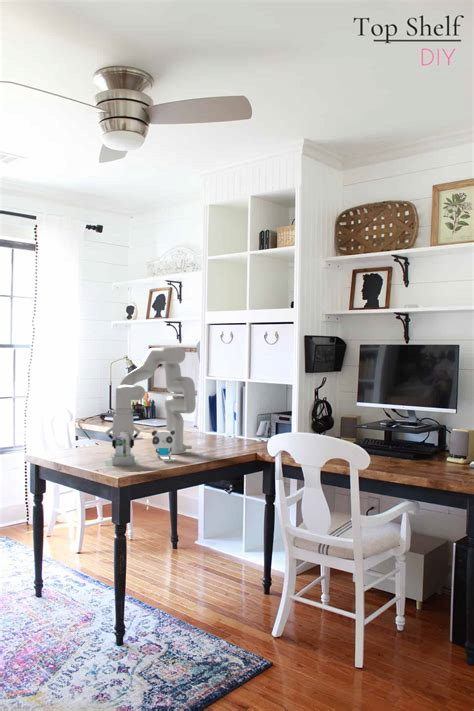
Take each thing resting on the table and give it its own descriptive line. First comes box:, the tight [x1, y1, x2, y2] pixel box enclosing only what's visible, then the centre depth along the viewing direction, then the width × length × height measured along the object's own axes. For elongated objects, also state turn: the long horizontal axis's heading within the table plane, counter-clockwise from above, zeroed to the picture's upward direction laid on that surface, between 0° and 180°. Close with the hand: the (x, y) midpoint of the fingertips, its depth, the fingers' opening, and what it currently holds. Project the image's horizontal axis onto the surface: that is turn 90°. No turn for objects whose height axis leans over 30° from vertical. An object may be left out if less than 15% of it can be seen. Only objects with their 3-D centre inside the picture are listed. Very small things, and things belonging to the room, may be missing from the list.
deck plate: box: [104, 459, 141, 467], centre depth 292 cm, size 16×14×2 cm
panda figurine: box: [151, 429, 176, 462], centre depth 312 cm, size 12×11×15 cm
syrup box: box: [114, 431, 132, 457], centre depth 292 cm, size 6×6×14 cm
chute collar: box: [110, 452, 136, 465], centre depth 292 cm, size 10×10×4 cm
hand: (123, 447), depth 292 cm, fingers closed on syrup box, 7 cm apart
